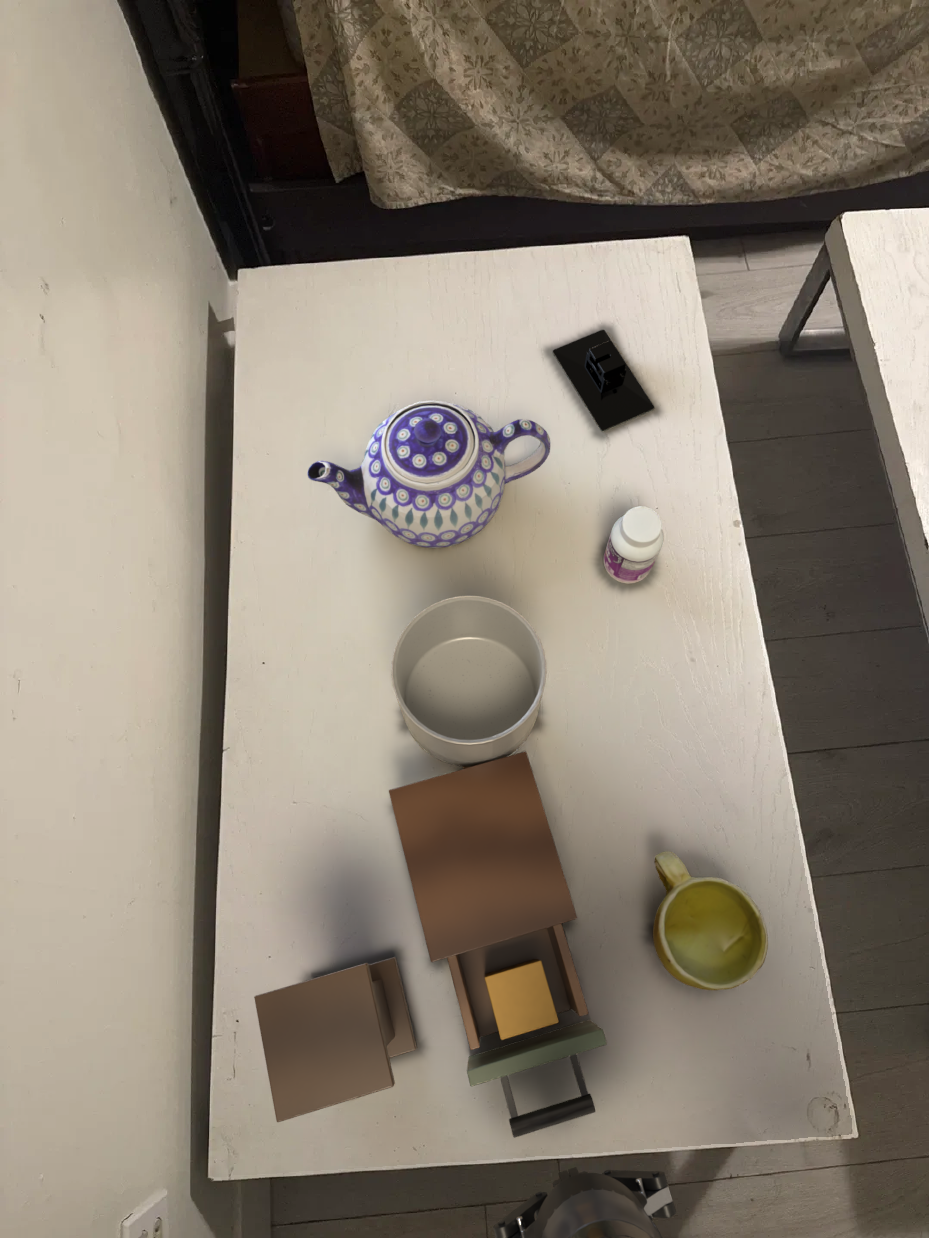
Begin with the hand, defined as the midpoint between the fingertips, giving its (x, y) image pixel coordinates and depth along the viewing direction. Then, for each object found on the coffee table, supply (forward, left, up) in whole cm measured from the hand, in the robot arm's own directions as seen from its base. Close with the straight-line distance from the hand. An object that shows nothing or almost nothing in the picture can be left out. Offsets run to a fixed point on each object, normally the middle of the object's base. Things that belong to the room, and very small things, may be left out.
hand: (571, 1183), depth 68 cm
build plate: (+75, -29, -9) cm, 81 cm away
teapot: (+65, -6, -9) cm, 66 cm away
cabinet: (+26, 0, -9) cm, 27 cm away
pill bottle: (+52, -24, -9) cm, 58 cm away
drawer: (+13, 0, -8) cm, 15 cm away
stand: (+16, +14, -9) cm, 23 cm away
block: (+14, 0, -7) cm, 15 cm away
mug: (+16, -17, -9) cm, 25 cm away
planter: (+40, -3, -9) cm, 41 cm away
